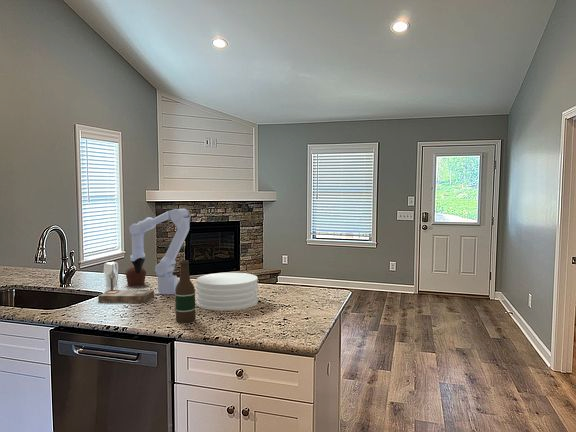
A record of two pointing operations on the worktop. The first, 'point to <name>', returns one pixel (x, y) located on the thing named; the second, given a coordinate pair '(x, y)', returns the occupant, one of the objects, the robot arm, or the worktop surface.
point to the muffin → (135, 277)
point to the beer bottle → (184, 296)
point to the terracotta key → (112, 292)
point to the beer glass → (111, 275)
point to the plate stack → (227, 291)
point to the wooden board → (126, 296)
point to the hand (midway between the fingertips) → (138, 273)
